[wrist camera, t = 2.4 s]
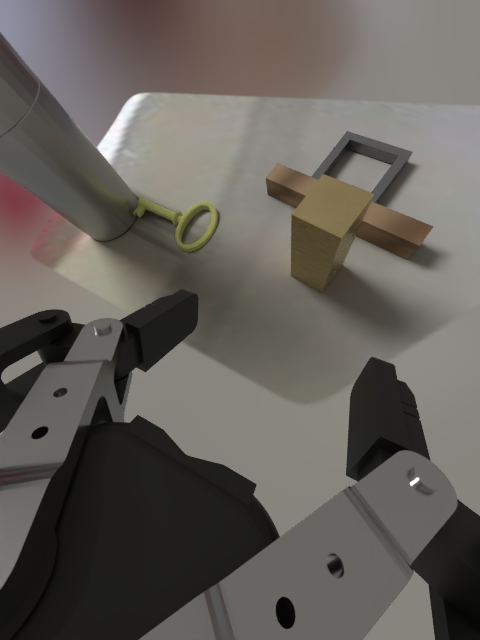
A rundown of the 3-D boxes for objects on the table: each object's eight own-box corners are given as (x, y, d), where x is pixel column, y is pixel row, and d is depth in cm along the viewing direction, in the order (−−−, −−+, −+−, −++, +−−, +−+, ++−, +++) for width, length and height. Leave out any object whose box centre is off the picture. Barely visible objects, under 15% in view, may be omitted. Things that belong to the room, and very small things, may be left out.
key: (145, 206, 34) (136, 195, 32) (222, 208, 31) (218, 196, 29) (131, 249, 32) (120, 240, 30) (211, 255, 30) (205, 246, 28)
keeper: (308, 187, 28) (309, 179, 27) (344, 141, 29) (347, 131, 28) (369, 213, 26) (372, 205, 25) (407, 161, 27) (412, 152, 25)
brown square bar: (267, 194, 30) (265, 178, 27) (278, 180, 30) (277, 163, 27) (406, 259, 24) (419, 245, 21) (419, 241, 24) (433, 226, 22)
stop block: (290, 275, 26) (291, 214, 17) (311, 248, 26) (323, 173, 17) (321, 293, 25) (341, 238, 15) (342, 264, 25) (374, 194, 16)
